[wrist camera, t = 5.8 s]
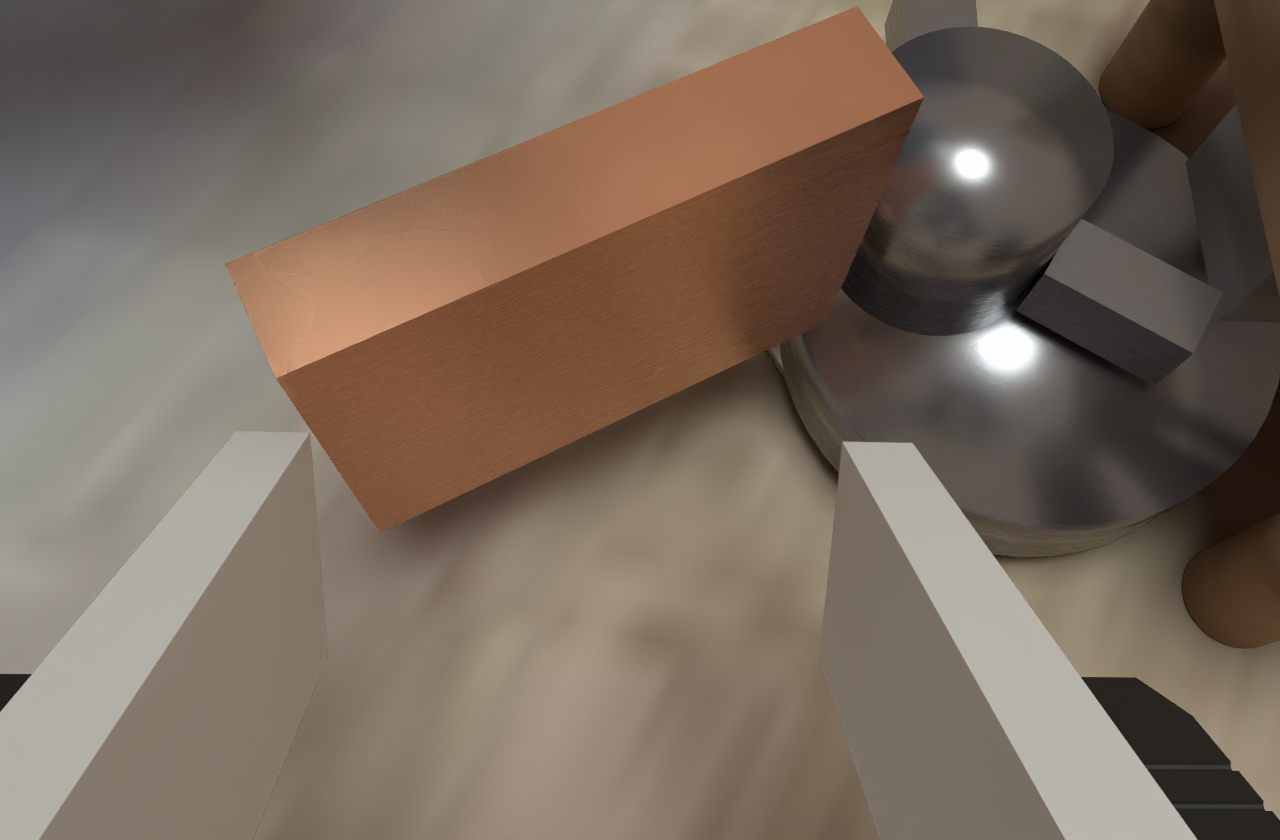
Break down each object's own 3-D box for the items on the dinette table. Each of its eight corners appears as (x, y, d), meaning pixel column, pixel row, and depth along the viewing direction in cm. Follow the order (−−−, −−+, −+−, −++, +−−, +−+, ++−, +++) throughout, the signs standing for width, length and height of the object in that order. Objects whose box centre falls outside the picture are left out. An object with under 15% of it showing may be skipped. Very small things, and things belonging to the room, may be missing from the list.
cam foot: (1003, 42, 22) (1203, -353, 15) (1310, 432, 19) (1745, 177, 12) (302, 343, 19) (122, 31, 12) (539, 860, 16) (492, 869, 9)
